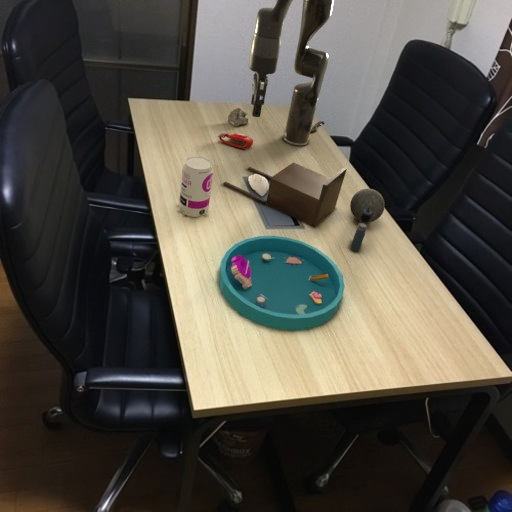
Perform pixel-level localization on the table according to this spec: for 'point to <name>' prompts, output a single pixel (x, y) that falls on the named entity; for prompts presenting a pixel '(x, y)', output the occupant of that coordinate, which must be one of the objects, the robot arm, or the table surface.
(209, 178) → the supplement can
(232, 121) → the grey brown rock
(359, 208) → the decorative ball
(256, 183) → the pincushion
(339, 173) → the box with long handles
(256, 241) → the round teal tray
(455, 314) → the table surface
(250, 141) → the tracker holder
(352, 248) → the vaping device
